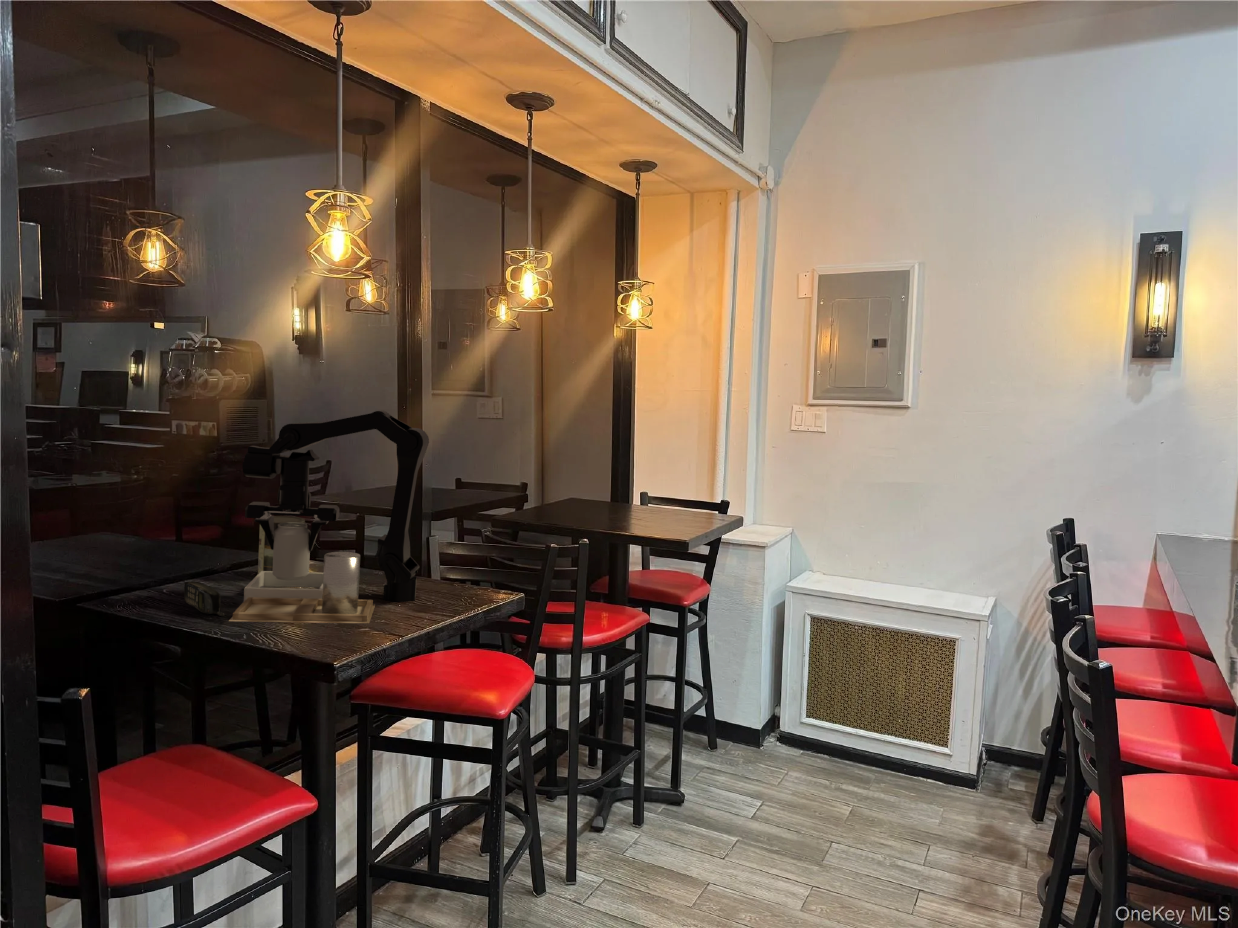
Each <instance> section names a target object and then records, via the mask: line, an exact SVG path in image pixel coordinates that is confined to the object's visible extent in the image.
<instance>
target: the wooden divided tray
mask: <svg viewBox="0 0 1238 928" xmlns="http://www.w3.org/2000/svg"><path fill="white" fill-rule="evenodd" d="M375 606H376V603H374V600H373V599H358V612H357V614H322V599H311V598H264V597H248V598H247V599H246V600H245V601H244V600H243V602H242V603H241V604H240V605H239V606H238V607H237V608H236V609H235V611H233V613H232V617H231V618H230V619H229V620H228V622H248V623H249V622H251V623H252V622H253V623H255V622H256V623H262V622H263V623H267V622H268V623H311V624H312V623H315V624H316V623H319V624H321V623H323V624H324V623H327V624H370V622H371V619H372V616H373V613H374V610H375Z"/></svg>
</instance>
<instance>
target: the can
mask: <svg viewBox="0 0 1238 928" xmlns="http://www.w3.org/2000/svg"><path fill="white" fill-rule="evenodd" d="M277 526H278V528H277V529H276V530H275V531H274V546H273V572H272V574H273V575H274V576H275V577H276V578H277V579H280V580H300V579H303V578H305V577H306V576H307V575H308V574H309V572H310V555H311V554H310V553H311V551H309V542H310V534H311V529H309V528H308V526H309V524H307V523H306V522H305V523H297V522H287V523H280V524H278V525H277Z"/></svg>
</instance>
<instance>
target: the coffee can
mask: <svg viewBox="0 0 1238 928" xmlns="http://www.w3.org/2000/svg"><path fill="white" fill-rule="evenodd" d="M273 516H274V531H275V530H276V529H277V528H278V526H277V525H278V524H280V523H287V522H297V523H305V524H306V519H305V518H303V517H301V516H291V515H273ZM258 533H259V537H258V540H259V541H258V558H257V559H258V561H257V562H258V563H257V575H258V574H259V573H260V572H261V571H273V550H271V547H270V544H269V542H268V539H267V537H266V534H265V532H264V530H263V529H262V527H261V525H260V524H259V532H258Z"/></svg>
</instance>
